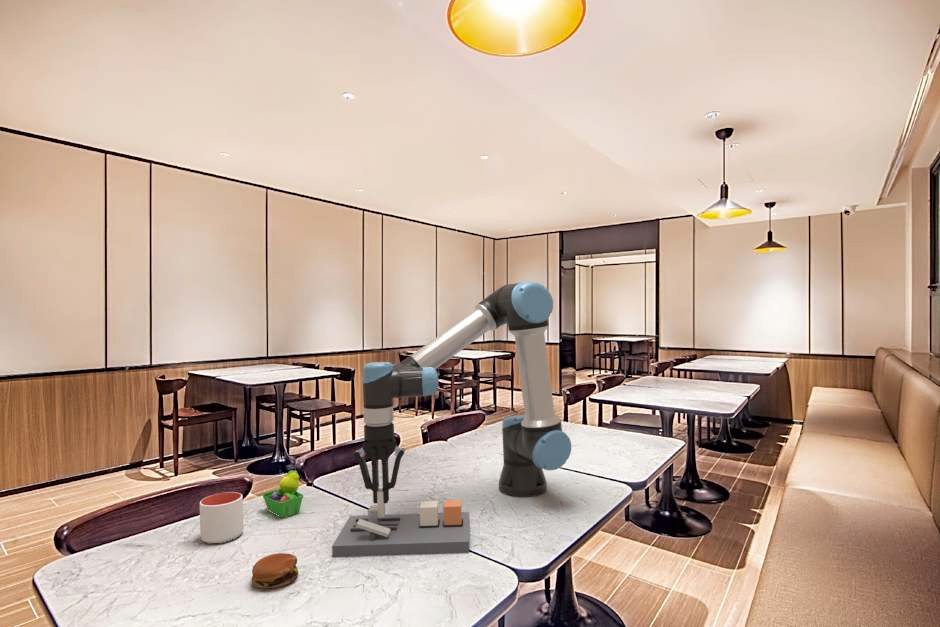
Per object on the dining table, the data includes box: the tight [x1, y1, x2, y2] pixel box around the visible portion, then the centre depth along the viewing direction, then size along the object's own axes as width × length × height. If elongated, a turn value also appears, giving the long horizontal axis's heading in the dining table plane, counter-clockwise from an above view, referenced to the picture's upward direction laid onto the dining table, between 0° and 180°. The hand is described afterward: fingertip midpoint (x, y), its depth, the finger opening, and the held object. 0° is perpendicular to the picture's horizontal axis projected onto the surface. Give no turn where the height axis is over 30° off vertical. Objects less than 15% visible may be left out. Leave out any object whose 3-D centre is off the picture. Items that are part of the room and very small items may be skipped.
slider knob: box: [367, 504, 380, 525], centre depth 130 cm, size 2×4×4 cm, turn 0°
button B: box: [419, 500, 440, 526], centre depth 130 cm, size 4×4×5 cm
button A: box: [443, 499, 463, 525], centre depth 130 cm, size 4×4×5 cm
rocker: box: [356, 519, 390, 537], centre depth 123 cm, size 8×3×1 cm, turn 90°
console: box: [331, 511, 470, 558], centre depth 128 cm, size 32×18×4 cm, turn 90°
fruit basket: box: [262, 469, 304, 519], centre depth 148 cm, size 11×9×11 cm
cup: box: [199, 491, 244, 544], centre depth 132 cm, size 10×10×10 cm
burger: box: [251, 552, 299, 589], centre depth 109 cm, size 10×9×5 cm
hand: (381, 515), depth 130 cm, fingers closed
